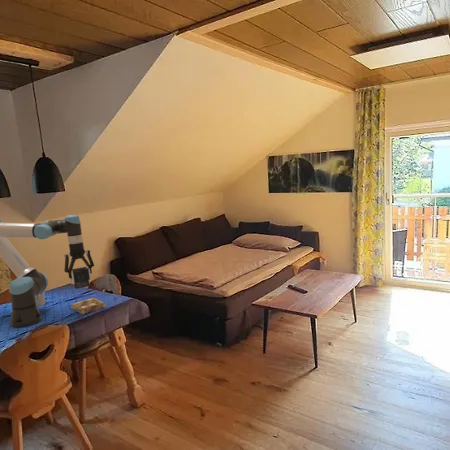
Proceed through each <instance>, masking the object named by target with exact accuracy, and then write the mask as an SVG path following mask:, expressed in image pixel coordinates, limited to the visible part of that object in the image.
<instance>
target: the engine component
mask: <svg viewBox="0 0 450 450" xmlns="http://www.w3.org/2000/svg"><path fill="white" fill-rule="evenodd" d="M45 296H46V294H45V291H43V292H42V293H41V294H39V295H37V296H36V297H35V299H36V306H37V308H38V307H42V306H44V305H45V304H46V303H47V302H46V297H45Z"/></svg>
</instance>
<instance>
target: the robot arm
mask: <svg viewBox="0 0 450 450" xmlns="http://www.w3.org/2000/svg"><path fill="white" fill-rule="evenodd" d="M58 234H66V235H67V239H68V248H69V253H67V254H64V269H63V270H64V273H68V278H69V279H70V280H71V283H70V284H73V285H74V284H75V283H74V276H73V272H72V269H74V265H75V262H76V261H77V260H79V259H81V260H82V261H83V263H84V264H85V266H86V267H87V271H88V278H89V281H90V280H91V281H92V275H91V274H92V273H93V272H92V268H93V267H95V263H94V262H93V258H92V256H91V250H90V249H87V250H85V247H84V242H83V233H82V225H81V219H80V216H79V215H78V214H70V215H65V217H64V219H57V220H56V219H55V220H46V221H45V222H43V223H35V222H33V223H31V222H28V223H27V222H2V220H1V219H0V258H1V259H2V261H3V262H5V264H6V266H8V268H9V269H10V270H11V272H12V273H14V275H15V276H16V278H15V279H13V280H11V282H9V285H8V287H9V289H8V290H9V291H8V292H9V295H10V302H11V309H12V311H11V315H10V323H9V324H10V326H11V327H13V328H23V327H29V326H31V325H36V324H37V323H39V322H41V320H42V319H43V318H42V313H41V312H40V310H39V308H38V307H37V306H36V299H35V297H36V296H37V295H39V294H41V295H42V294H43V292H45V291H46V290H47V288H48V286H49V279H48V277H47V275H46V274H45V273H43V272H40V271H38V270H37V269H36V268H35V267H31V266H30V265H29V263H28V262H27V261H26V260H25V258H24V257H23V256H22V255H21V254H20V253H19V251H18V250H17V249H16V247H15V246H14V245H13V244H12V243H11V241H10V239H8V238H33V239H35V238H36V239H39V240H46V239H49V238H50V237H53V236H55V235H58ZM85 255H86V257H87V259H88V260H87V259H86V257H85ZM70 257H71V260H70Z"/></svg>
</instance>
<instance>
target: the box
mask: <svg viewBox="0 0 450 450" xmlns="http://www.w3.org/2000/svg"><path fill="white" fill-rule="evenodd" d="M87 268H88V267H87V266H82V267H78V268H73V269H72V272H73V276H74V283H75V284H73V285H74V289H75V290H77V289H82V288H87V287H90V280H89V278H88V271H87Z"/></svg>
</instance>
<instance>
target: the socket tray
mask: <svg viewBox="0 0 450 450" xmlns="http://www.w3.org/2000/svg"><path fill="white" fill-rule="evenodd" d="M102 308H103V309H105V308H106V302H104V301H102V300H100V299H98V298H95V297H92V298H88V299H84V300H81V301H77V302H74V303H73V302H72V303H71V310H73V311H75V312H76V311H77V312H76V313H78V312H79V313H78V314H80V315H85V313H86V314H88V312H89V313H91V312H95V310H96V311H99V310H101V309H102Z"/></svg>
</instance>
